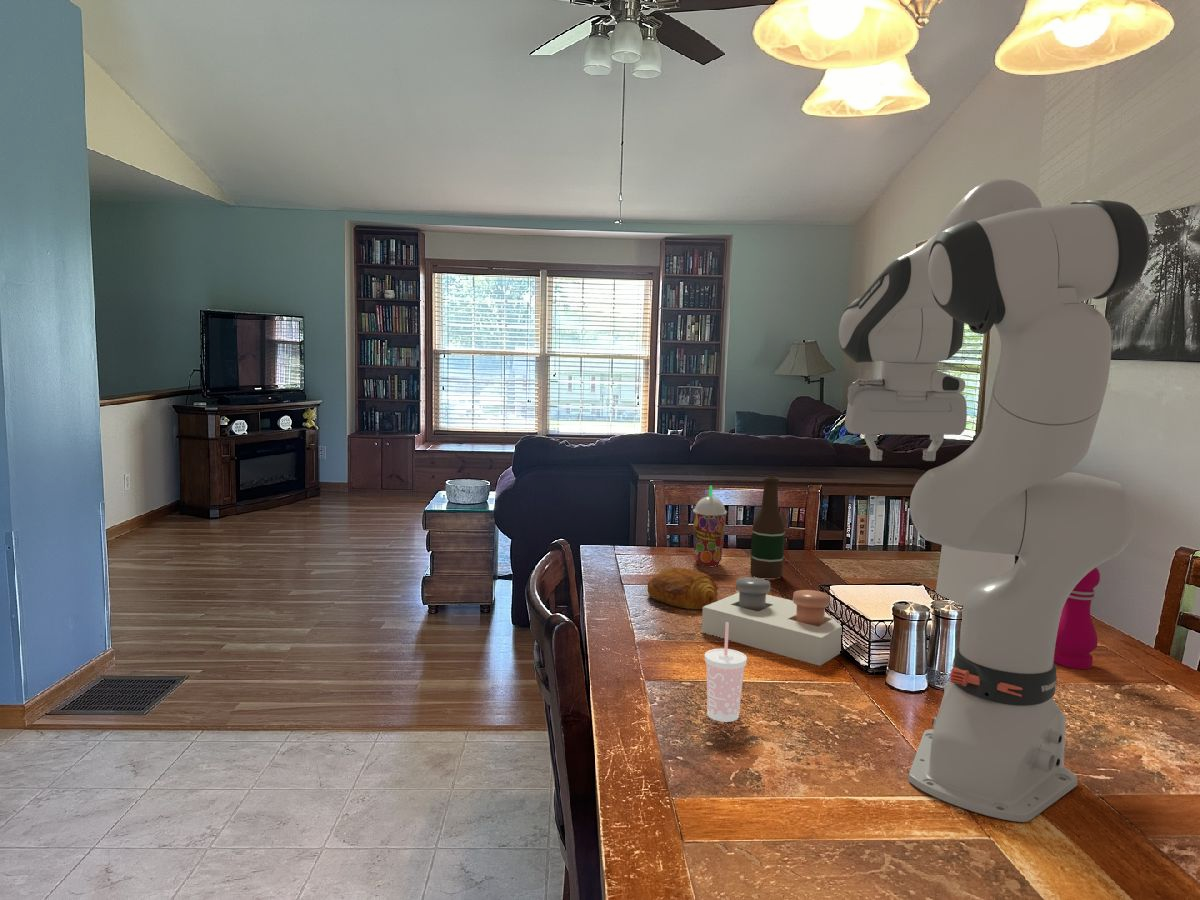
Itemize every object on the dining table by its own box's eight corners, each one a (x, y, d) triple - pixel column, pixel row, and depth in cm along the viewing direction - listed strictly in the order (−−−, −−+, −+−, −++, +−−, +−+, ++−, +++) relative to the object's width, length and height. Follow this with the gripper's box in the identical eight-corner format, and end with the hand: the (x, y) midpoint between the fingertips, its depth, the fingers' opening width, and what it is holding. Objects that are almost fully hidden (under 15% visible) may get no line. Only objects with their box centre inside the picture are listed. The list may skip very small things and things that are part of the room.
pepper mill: (1101, 672, 141) (1113, 558, 139) (1056, 668, 142) (1066, 555, 140) (1086, 657, 148) (1096, 549, 146) (1042, 653, 149) (1052, 546, 147)
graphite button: (758, 622, 153) (759, 588, 153) (728, 614, 157) (730, 581, 157) (774, 614, 158) (776, 581, 157) (745, 607, 162) (747, 575, 161)
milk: (931, 620, 167) (941, 494, 164) (952, 608, 175) (962, 488, 172) (994, 635, 159) (1005, 502, 156) (1013, 621, 167) (1024, 496, 164)
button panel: (819, 665, 141) (821, 637, 140) (701, 632, 156) (702, 606, 155) (857, 642, 153) (859, 616, 152) (744, 613, 168) (745, 589, 167)
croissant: (686, 625, 167) (691, 589, 165) (634, 597, 178) (638, 562, 176) (733, 610, 176) (738, 576, 174) (680, 584, 187) (685, 551, 185)
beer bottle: (785, 580, 193) (791, 480, 190) (752, 579, 193) (757, 479, 190) (779, 572, 201) (784, 475, 198) (747, 571, 201) (752, 474, 198)
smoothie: (689, 567, 203) (693, 487, 201) (691, 559, 211) (694, 482, 209) (724, 569, 202) (727, 489, 199) (724, 561, 210) (728, 484, 208)
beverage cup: (694, 709, 122) (698, 618, 120) (729, 703, 125) (733, 614, 123) (715, 727, 117) (720, 631, 115) (752, 720, 119) (757, 627, 117)
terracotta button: (818, 638, 146) (820, 602, 145) (785, 629, 150) (787, 594, 149) (833, 629, 151) (835, 594, 150) (801, 621, 155) (803, 587, 154)
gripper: (856, 380, 135) (850, 462, 137) (974, 381, 137) (967, 463, 139) (841, 377, 141) (836, 457, 143) (955, 379, 143) (949, 457, 145)
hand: (902, 460), depth 141 cm, fingers open, 8 cm apart
